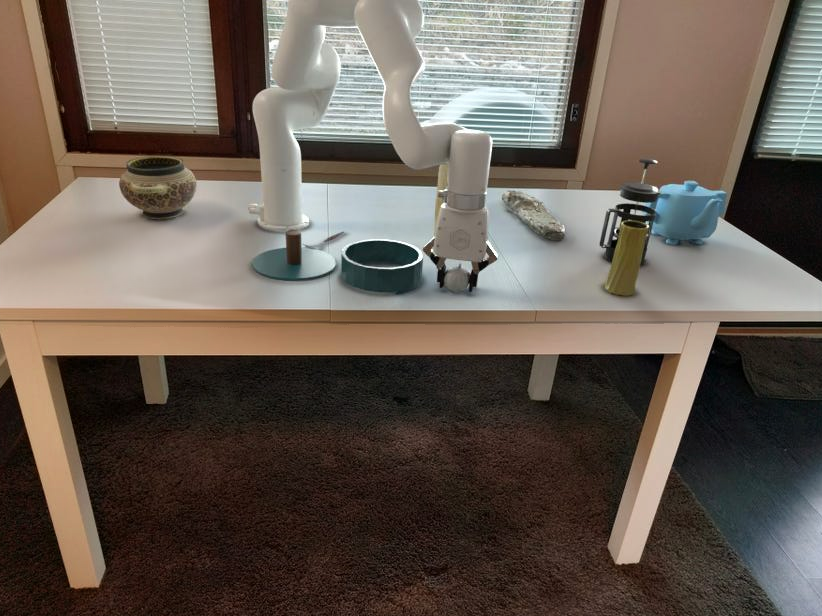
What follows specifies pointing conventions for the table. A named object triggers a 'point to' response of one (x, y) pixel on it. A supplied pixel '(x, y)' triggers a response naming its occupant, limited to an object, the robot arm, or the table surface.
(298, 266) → the lid
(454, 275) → the garlic
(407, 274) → the pot
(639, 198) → the french press
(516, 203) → the elongated rock
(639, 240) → the vase
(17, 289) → the table surface
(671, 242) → the teapot
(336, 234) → the fork
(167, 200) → the ceramic bowl
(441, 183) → the food model
